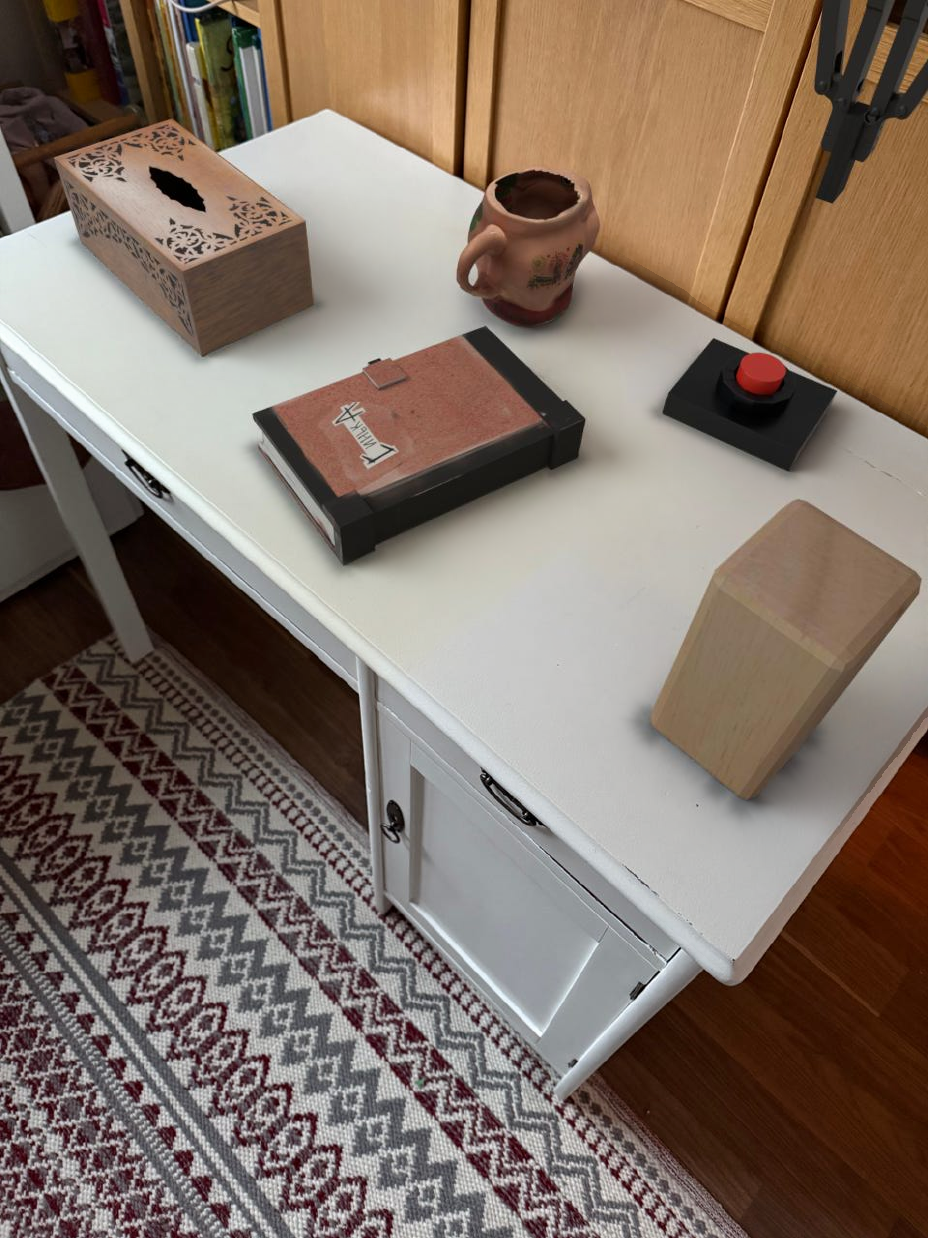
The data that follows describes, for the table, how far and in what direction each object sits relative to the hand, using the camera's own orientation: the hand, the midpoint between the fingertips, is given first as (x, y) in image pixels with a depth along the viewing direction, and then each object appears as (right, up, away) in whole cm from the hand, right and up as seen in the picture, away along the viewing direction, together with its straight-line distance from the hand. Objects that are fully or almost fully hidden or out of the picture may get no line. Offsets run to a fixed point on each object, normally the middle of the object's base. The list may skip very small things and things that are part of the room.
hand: (829, 193), depth 74 cm
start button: (0, -11, +17) cm, 20 cm away
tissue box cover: (-61, +5, +30) cm, 68 cm away
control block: (-1, -13, +20) cm, 24 cm away
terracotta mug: (-24, 0, +29) cm, 37 cm away
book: (-34, -18, +15) cm, 42 cm away
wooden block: (-9, -43, -1) cm, 44 cm away
